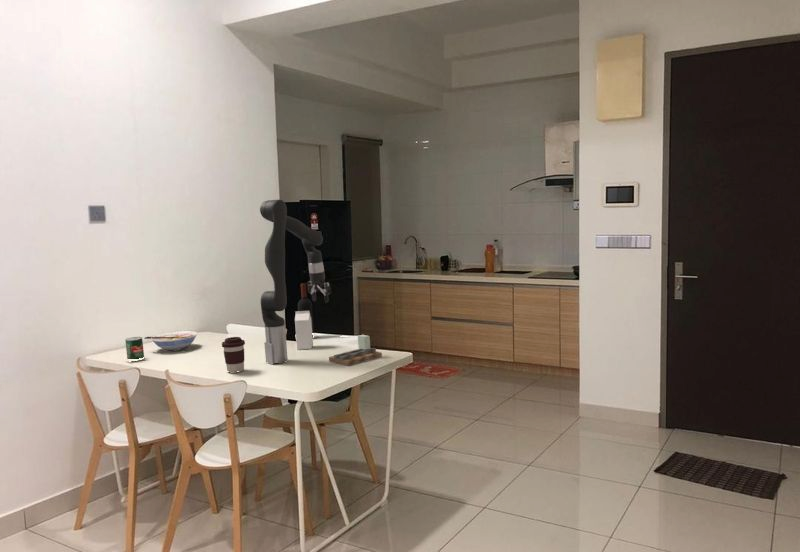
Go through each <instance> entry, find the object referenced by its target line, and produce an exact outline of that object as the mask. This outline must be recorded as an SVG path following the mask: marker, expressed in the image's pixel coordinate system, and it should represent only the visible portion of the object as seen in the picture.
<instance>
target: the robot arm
mask: <svg viewBox="0 0 800 552" xmlns="http://www.w3.org/2000/svg"><path fill="white" fill-rule="evenodd" d="M287 209H288V208H287V205H286V202H285V201H284V200H283V199H270V200H265V201H263V202H262V203H260V206H259V212H260V215H261V217H262V218H263V219H264V220H267V221H268V222H271V223H273V224H272V225H273V226H272V231H271V234H270V236H269V238H268V240H267V242H266V244H265V246H264V264H265V266H266V269H267V271H268V272H269V274H270V275H271V278H272V281H273V287H274V289H273V290H268V291H266V290H265V291H264V292H263V293H262V294H261V297H260V308H261V316H262V321H263V324H264V333H265V341H264V344H263V345H264V355H265V357H264V358H265V363H266V362H268V363H267V364H270V363H272V364H271V365H275V364H274V363H279V364H282V363H281V362H284V363H286V362H285V361H287V360H288V357H289V356H288V347H287V346H288V345H287V336H286V335H287V334H286V333H287V332H286V320H285V319H284V318H283V317H281V316H280V315H278V314H277V312H283V311H285V309H286V307H287V303H288V301H287V300H288V299H287V298H288V296H287V286H286V245H285V244H286V231H287V232H290V233H291V234H292V235H294V236H295V237H297V238H298V239H300V240H301V243H302V245H303V248H304V251H305V253H306V255H307V264H308V271H309V272H308V273H309V278H310V279H309V281H307V282H306V288H307V292H308V294H310V295H311V300H312V302H316V301H317V294H316V292H317V291H318V292H319V291H320V292H321V293H322V295H323V297H324V303H329V301H330V298H329V295H330V294H332V289H331V282H325V279H326V275H325V268H324V262H323V255H322V252H321V250H319V249H316V248H315V247H319V246H321V245H322V244H323V242H324V238H323V235H322V234H321V232H319V231H318V230H316V229H313V228H311V227H309V226H307V225H306V224H305V223H304V222H302V221H300V220H299V219H296V218H294V217H292V216H289V215H287V214H288V210H287ZM287 362H288V361H287Z"/></svg>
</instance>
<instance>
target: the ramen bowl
mask: <svg viewBox="0 0 800 552" xmlns="http://www.w3.org/2000/svg"><path fill="white" fill-rule="evenodd" d="M197 335H198V333H197V332H196V331H189V330H188V331H186V330H185V331H173V332H166V333H162V334H157V335H155V336H146V337H144V339H145V340H146V339H148V340H149V339H150V340H152V342H153V343H154V344H155V345H156V346H157V347H158V348H160V349H164V350H167V351H169V350H177V351H181V350H183V349H185V348H186V347H188V346H190V345H191V344H193V342H194V341H195V339H196V337H197Z"/></svg>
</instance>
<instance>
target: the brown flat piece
mask: <svg viewBox="0 0 800 552" xmlns="http://www.w3.org/2000/svg"><path fill="white" fill-rule="evenodd" d="M361 350H362V349H359V348H356V349H353V350H349V351H345V352H342V353H341V352H340V353H337V354H333V355H331V356H329V357H328V362H330V363H333V364H338V365H342V366H347V367H349V366H353V365H357V364H360V363H365V362H369V361H371V360H375V359H379V358H382V357H383V353H382V352H381V351H377V348H376V347H370V349H367V350H363V351H361Z"/></svg>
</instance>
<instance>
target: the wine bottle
mask: <svg viewBox="0 0 800 552" xmlns="http://www.w3.org/2000/svg"><path fill="white" fill-rule="evenodd" d="M300 293H301V299H300V300H299V301H298V302H297V311H310V315H311V322H312V333H314V334H315V331H314V329H315V328H314V318H313V317H314V316H313V304H312V301H311V300H310V299H309V298H308V297H307V296H308V295H307V282H306V283H300Z"/></svg>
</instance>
